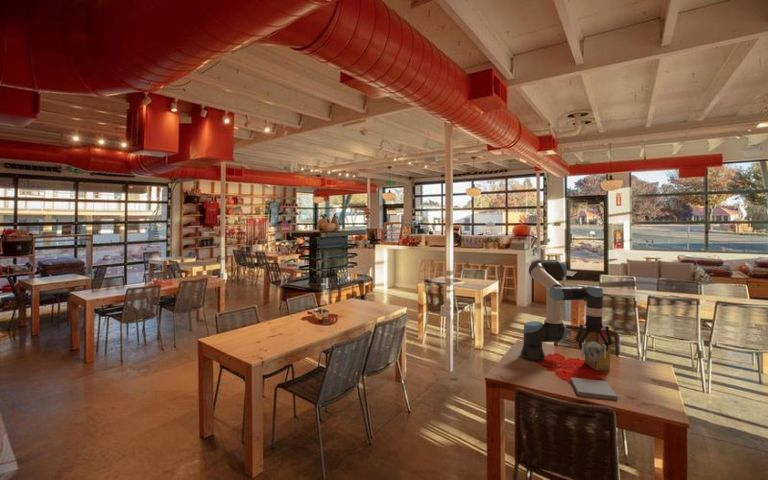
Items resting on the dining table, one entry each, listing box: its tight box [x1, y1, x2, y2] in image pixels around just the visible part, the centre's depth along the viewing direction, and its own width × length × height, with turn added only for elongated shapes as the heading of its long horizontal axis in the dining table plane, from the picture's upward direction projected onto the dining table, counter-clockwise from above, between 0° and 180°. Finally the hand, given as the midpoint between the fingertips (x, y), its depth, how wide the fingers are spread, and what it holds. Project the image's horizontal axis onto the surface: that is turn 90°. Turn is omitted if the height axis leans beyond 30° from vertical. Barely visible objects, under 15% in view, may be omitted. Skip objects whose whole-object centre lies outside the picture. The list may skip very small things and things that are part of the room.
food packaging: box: [584, 327, 612, 372], centre depth 231 cm, size 13×9×25 cm
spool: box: [584, 342, 603, 361], centre depth 200 cm, size 14×10×10 cm
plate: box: [570, 376, 618, 401], centre depth 200 cm, size 18×18×2 cm
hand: (593, 355), depth 200 cm, fingers closed on spool, 10 cm apart
